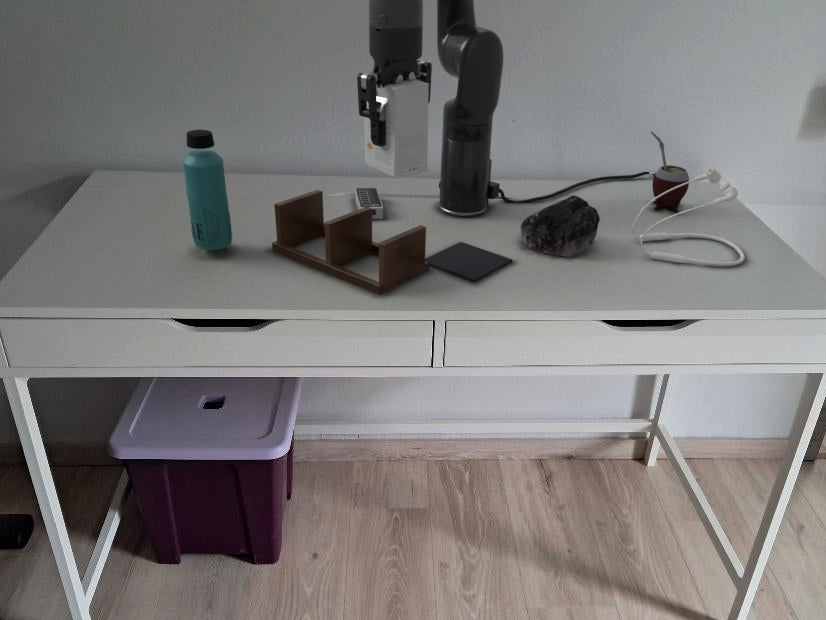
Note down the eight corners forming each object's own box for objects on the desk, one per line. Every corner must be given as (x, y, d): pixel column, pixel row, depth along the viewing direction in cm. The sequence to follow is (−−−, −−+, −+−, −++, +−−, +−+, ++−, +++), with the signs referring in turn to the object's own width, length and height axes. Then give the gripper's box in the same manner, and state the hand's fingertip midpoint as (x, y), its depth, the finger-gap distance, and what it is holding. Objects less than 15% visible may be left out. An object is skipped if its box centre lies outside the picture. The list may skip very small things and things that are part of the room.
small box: (428, 171, 121) (430, 83, 114) (394, 179, 118) (394, 88, 111) (396, 157, 127) (397, 72, 119) (363, 164, 123) (361, 76, 116)
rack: (324, 230, 143) (322, 187, 139) (429, 270, 131) (431, 224, 127) (272, 250, 135) (268, 205, 131) (379, 295, 123) (379, 247, 119)
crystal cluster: (507, 236, 147) (510, 186, 141) (572, 223, 151) (577, 174, 145) (540, 271, 137) (545, 219, 131) (608, 256, 141) (616, 205, 135)
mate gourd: (690, 210, 162) (706, 136, 154) (663, 217, 158) (678, 141, 150) (663, 199, 167) (677, 126, 159) (636, 205, 163) (649, 131, 155)
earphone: (620, 214, 147) (707, 155, 141) (663, 279, 154) (747, 224, 149) (638, 243, 135) (733, 180, 130) (684, 311, 143) (776, 254, 137)
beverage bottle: (241, 247, 136) (229, 128, 125) (219, 262, 130) (205, 139, 119) (208, 240, 137) (193, 123, 126) (185, 255, 132) (168, 133, 121)
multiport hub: (376, 198, 159) (376, 187, 157) (383, 219, 150) (383, 207, 148) (354, 199, 158) (354, 187, 157) (359, 219, 149) (359, 207, 148)
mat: (460, 244, 141) (461, 241, 141) (512, 262, 136) (512, 259, 135) (421, 263, 134) (421, 260, 133) (474, 283, 128) (474, 279, 128)
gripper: (408, 12, 117) (407, 125, 127) (340, 23, 108) (344, 144, 117) (448, 19, 114) (444, 135, 123) (381, 30, 104) (382, 156, 113)
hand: (395, 139), depth 120 cm, fingers closed on small box, 7 cm apart
